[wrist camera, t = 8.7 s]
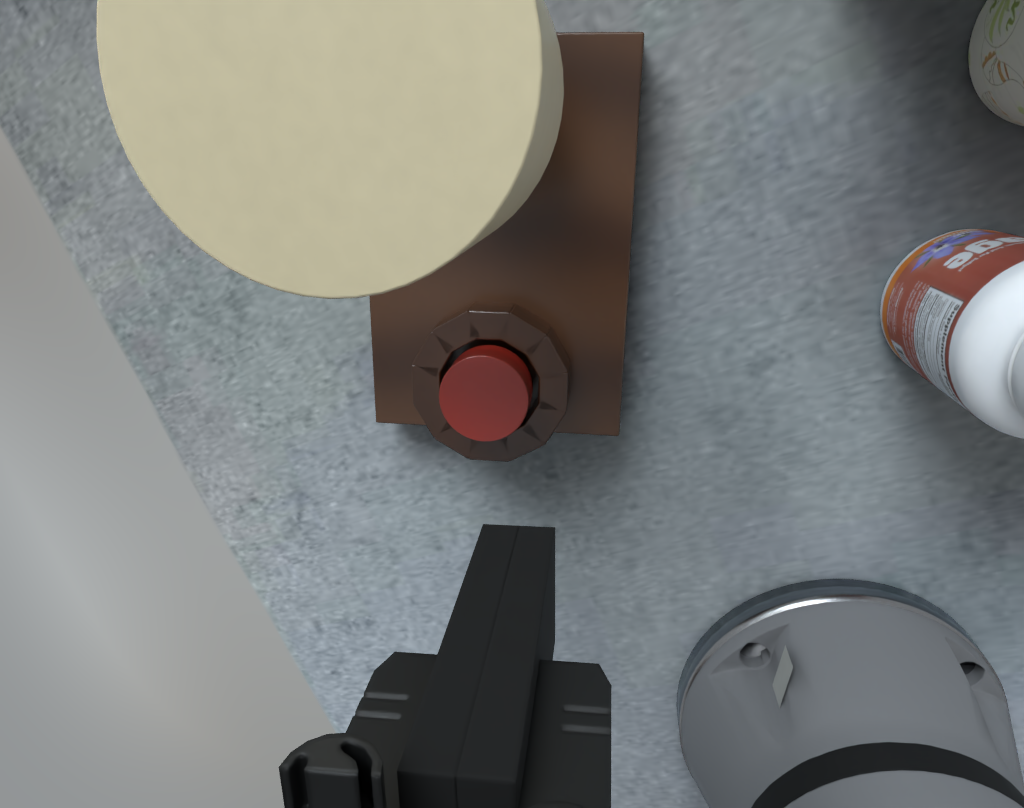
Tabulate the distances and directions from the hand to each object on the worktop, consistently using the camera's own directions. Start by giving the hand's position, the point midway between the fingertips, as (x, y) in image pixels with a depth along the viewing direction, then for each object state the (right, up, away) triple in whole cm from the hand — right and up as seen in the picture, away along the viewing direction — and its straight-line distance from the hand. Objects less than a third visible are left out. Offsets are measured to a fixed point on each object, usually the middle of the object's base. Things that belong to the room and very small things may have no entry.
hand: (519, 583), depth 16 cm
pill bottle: (+18, +8, +16) cm, 25 cm away
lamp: (-1, +14, +12) cm, 18 cm away
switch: (-1, +4, +15) cm, 16 cm away
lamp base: (-1, +11, +17) cm, 20 cm away
